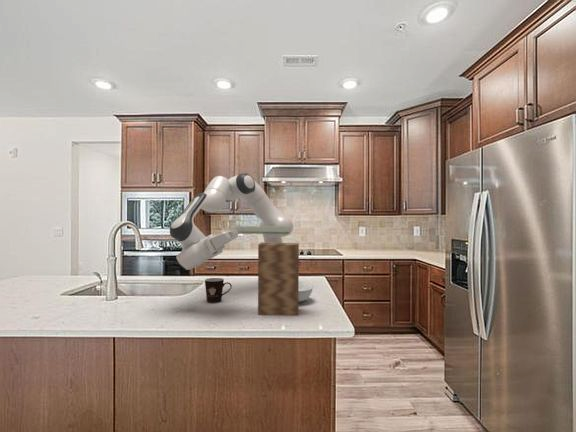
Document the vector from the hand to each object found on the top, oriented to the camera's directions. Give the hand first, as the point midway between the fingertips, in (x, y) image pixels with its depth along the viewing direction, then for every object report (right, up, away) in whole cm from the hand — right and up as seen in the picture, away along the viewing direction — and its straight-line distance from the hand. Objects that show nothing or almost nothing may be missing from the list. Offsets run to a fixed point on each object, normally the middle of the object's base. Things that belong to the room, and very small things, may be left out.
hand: (242, 228), depth 146 cm
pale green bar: (+8, -2, 0) cm, 8 cm away
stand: (+15, -34, 0) cm, 38 cm away
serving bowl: (+20, -35, +18) cm, 44 cm away
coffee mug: (-14, -34, +16) cm, 40 cm away
